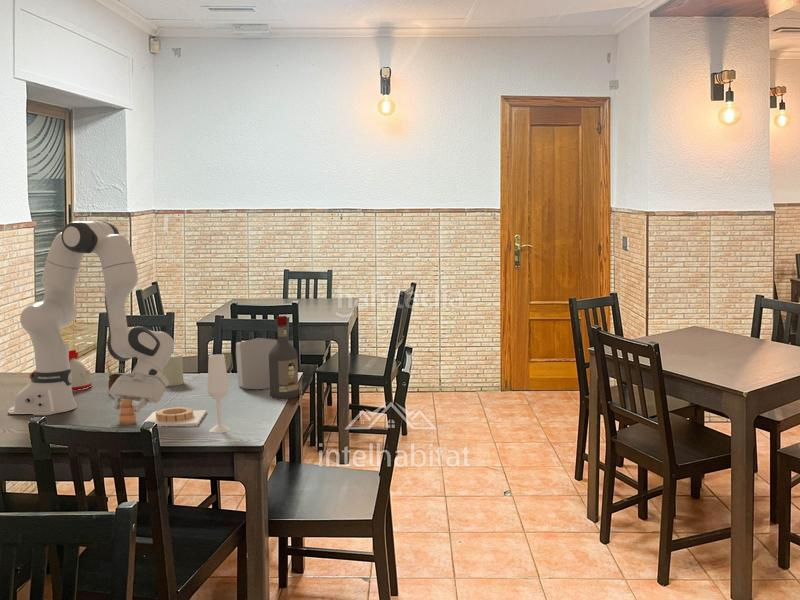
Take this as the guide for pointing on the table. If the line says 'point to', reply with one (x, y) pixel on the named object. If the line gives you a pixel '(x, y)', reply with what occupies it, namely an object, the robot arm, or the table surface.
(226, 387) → the champagne flute
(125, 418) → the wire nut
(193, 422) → the collar plate
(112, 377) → the utensil holder
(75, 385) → the kitchen timer
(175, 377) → the can
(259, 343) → the electrical switch box
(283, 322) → the liquor
